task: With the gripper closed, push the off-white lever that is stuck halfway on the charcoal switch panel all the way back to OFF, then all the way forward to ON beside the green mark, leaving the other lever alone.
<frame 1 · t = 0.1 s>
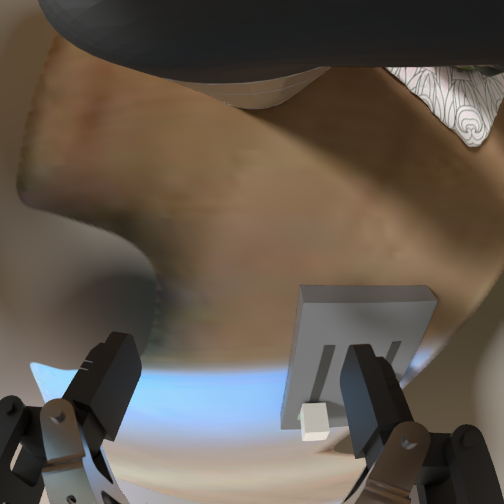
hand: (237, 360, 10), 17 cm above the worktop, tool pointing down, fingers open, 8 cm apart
breaker panel: (346, 363, 34), on the worktop
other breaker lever: (314, 421, 31), point 6 cm above the worktop, slide at 5.0 cm
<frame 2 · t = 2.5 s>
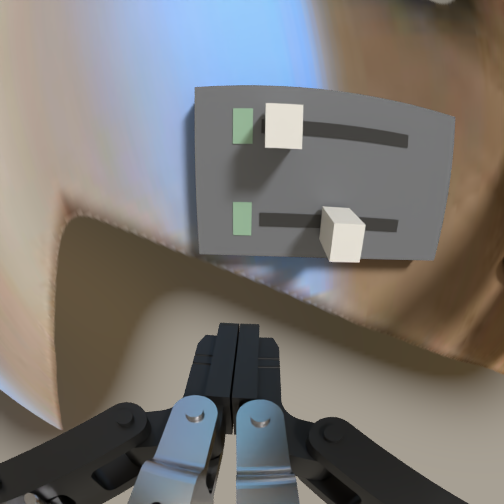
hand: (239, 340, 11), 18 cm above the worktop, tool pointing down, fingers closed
breaker panel: (329, 172, 26), on the worktop
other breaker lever: (282, 126, 19), point 6 cm above the worktop, slide at 5.0 cm
tripped breaker lever: (340, 232, 22), point 6 cm above the worktop, slide at 0.0 cm
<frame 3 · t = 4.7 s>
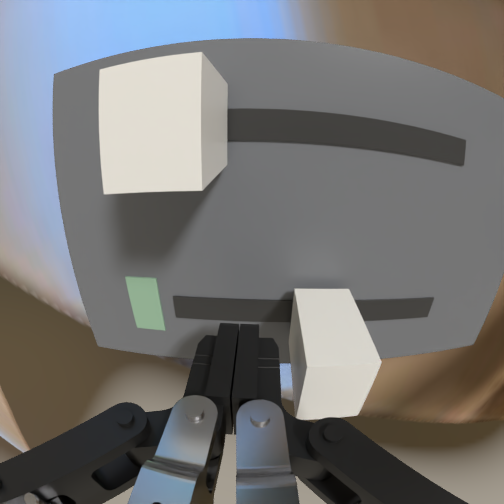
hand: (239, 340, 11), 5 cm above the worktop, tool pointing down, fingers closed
breaker panel: (312, 208, 14), on the worktop
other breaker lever: (176, 124, 7), point 6 cm above the worktop, slide at 5.0 cm
tripped breaker lever: (326, 351, 10), point 6 cm above the worktop, slide at -0.1 cm, touching gripper
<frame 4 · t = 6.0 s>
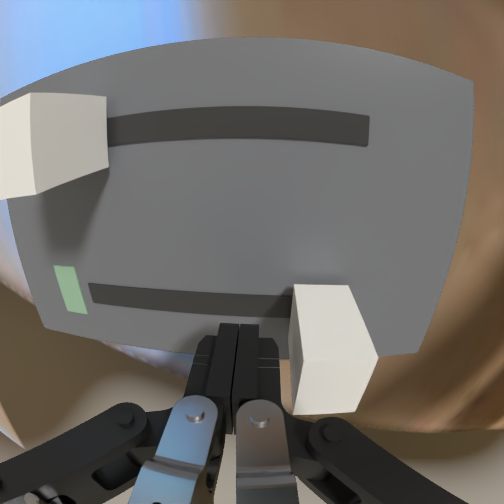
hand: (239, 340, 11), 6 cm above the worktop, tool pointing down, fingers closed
breaker panel: (214, 202, 14), on the worktop
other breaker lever: (51, 140, 8), point 6 cm above the worktop, slide at 5.0 cm
tripped breaker lever: (324, 346, 11), point 6 cm above the worktop, slide at -5.1 cm, touching gripper
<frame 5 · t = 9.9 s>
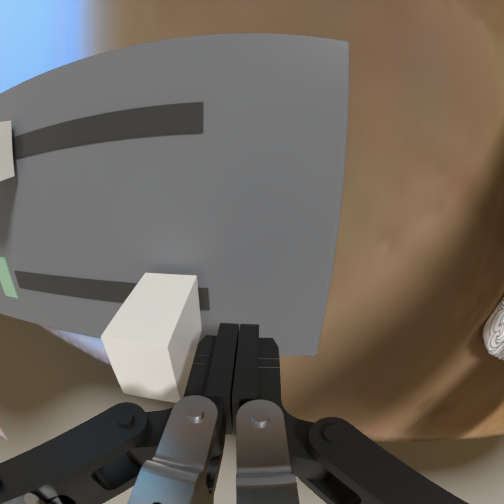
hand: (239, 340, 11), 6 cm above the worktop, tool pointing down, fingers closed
breaker panel: (104, 200, 15), on the worktop
tripped breaker lever: (159, 333, 11), point 6 cm above the worktop, slide at -4.9 cm, touching gripper
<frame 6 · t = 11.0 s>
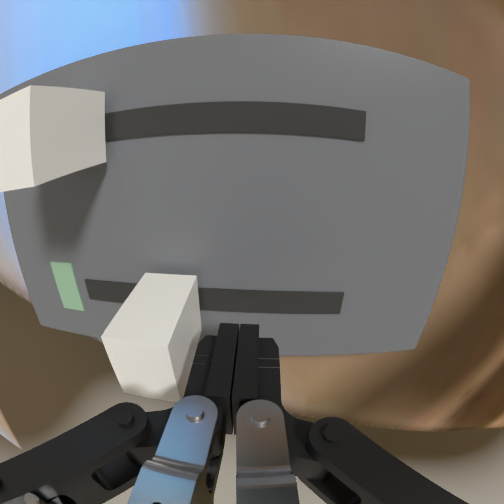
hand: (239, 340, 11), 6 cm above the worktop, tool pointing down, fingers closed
breaker panel: (211, 198, 14), on the worktop
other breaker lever: (49, 135, 8), point 6 cm above the worktop, slide at 5.0 cm
tripped breaker lever: (160, 333, 11), point 6 cm above the worktop, slide at 1.3 cm, touching gripper
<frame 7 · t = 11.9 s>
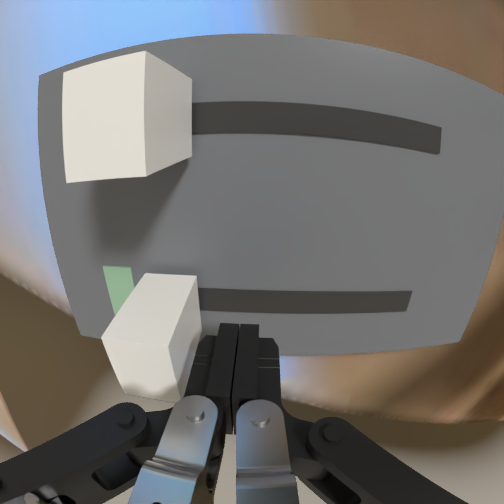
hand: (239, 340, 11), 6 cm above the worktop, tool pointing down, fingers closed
breaker panel: (285, 200, 14), on the worktop
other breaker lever: (136, 118, 8), point 6 cm above the worktop, slide at 5.0 cm
tripped breaker lever: (160, 333, 11), point 6 cm above the worktop, slide at 5.1 cm, touching gripper
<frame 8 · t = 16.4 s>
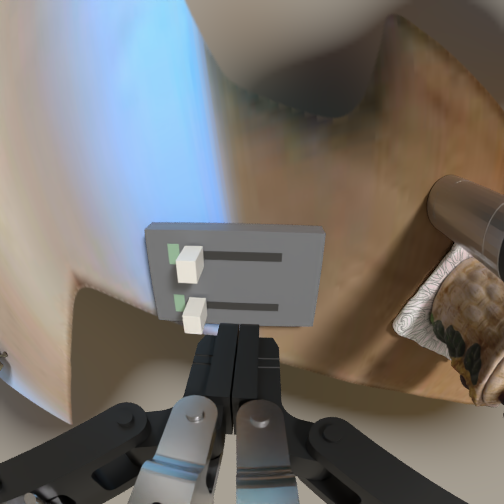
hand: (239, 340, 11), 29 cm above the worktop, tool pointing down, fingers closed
breaker panel: (234, 272, 43), on the worktop
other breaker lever: (190, 263, 36), point 6 cm above the worktop, slide at 5.0 cm
cookie jar: (462, 297, 44), on the worktop
tripped breaker lever: (195, 315, 39), point 6 cm above the worktop, slide at 5.1 cm
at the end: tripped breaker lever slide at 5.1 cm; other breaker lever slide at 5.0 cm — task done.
